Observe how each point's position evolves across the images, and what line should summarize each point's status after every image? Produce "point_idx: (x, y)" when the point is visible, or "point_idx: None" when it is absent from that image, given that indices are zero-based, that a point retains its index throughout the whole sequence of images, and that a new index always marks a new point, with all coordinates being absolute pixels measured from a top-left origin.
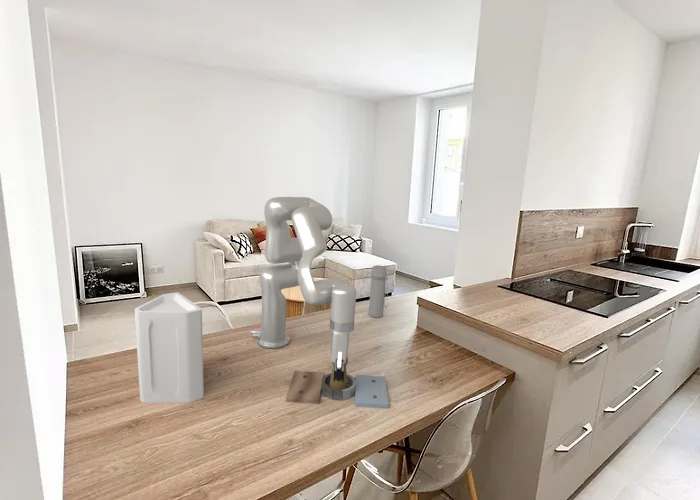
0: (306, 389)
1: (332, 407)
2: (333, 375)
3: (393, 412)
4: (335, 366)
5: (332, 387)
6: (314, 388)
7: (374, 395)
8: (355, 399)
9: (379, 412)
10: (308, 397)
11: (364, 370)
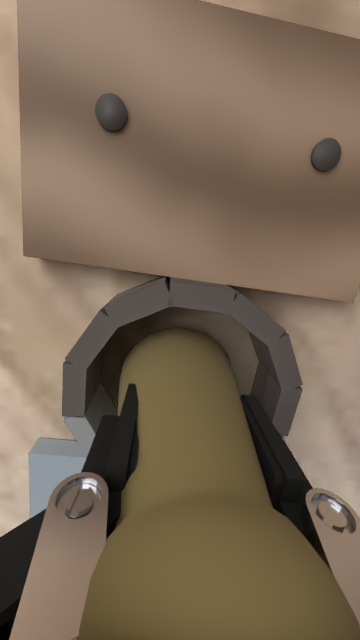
0: (150, 165)
1: (13, 332)
2: (142, 407)
3: None
4: (35, 565)
5: (136, 354)
6: (163, 229)
7: None
8: (57, 456)
9: (7, 521)
10: (47, 179)
11: (344, 497)
